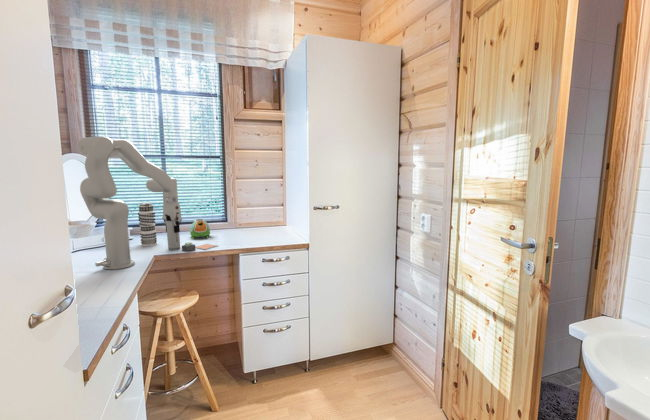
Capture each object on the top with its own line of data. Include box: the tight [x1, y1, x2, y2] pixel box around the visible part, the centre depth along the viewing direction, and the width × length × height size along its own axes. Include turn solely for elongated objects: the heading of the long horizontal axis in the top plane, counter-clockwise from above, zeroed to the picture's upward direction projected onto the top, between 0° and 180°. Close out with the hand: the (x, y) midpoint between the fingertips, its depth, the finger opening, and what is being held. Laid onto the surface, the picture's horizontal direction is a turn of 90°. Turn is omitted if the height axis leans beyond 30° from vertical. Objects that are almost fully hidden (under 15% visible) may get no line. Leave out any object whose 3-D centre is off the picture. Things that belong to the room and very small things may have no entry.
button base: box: [181, 243, 196, 253], centre depth 186 cm, size 5×5×3 cm
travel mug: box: [165, 215, 181, 251], centre depth 188 cm, size 6×7×20 cm
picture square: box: [195, 243, 218, 251], centre depth 194 cm, size 10×10×1 cm
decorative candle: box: [137, 202, 158, 247], centre depth 199 cm, size 9×9×25 cm
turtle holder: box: [189, 218, 211, 240], centre depth 221 cm, size 12×18×12 cm
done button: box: [184, 241, 193, 246], centre depth 186 cm, size 4×4×2 cm
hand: (172, 231), depth 188 cm, fingers closed on travel mug, 6 cm apart
